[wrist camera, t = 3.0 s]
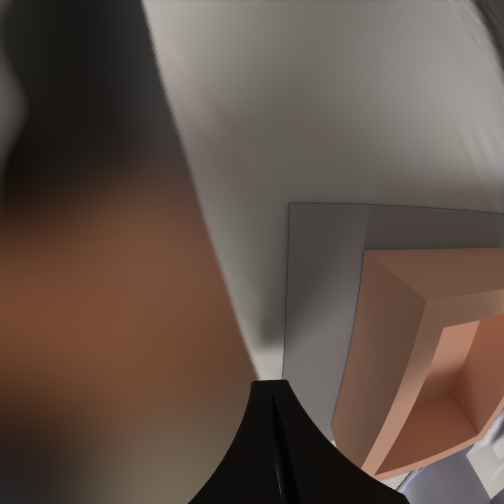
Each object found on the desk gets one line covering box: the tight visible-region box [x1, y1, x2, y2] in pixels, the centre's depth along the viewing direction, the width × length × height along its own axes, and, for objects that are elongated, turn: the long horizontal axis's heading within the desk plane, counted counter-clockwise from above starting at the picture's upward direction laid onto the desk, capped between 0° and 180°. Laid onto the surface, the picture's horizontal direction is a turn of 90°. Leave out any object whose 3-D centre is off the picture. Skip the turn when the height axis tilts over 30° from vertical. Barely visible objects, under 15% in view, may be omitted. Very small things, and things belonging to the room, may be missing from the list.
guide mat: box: [282, 203, 504, 441], centre depth 13 cm, size 14×24×1 cm, turn 91°
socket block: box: [331, 248, 504, 481], centre depth 10 cm, size 10×9×4 cm
